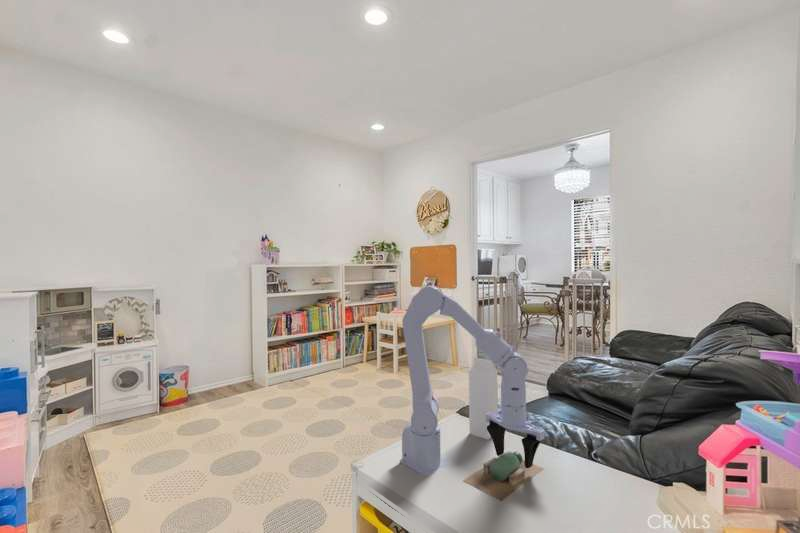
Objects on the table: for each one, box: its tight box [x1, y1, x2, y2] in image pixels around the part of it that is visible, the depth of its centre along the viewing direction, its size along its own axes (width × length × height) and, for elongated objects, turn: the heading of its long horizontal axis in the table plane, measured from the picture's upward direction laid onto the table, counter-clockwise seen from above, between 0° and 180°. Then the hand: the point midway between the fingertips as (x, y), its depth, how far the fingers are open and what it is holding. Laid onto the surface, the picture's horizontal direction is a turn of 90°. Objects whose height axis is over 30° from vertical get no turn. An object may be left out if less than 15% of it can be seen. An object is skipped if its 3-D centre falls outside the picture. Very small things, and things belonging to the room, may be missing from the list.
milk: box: [468, 357, 499, 441], centre depth 108 cm, size 6×6×22 cm
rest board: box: [462, 456, 545, 502], centre depth 87 cm, size 10×18×2 cm, turn 132°
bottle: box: [489, 451, 524, 481], centre depth 87 cm, size 4×4×9 cm
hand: (514, 460), depth 89 cm, fingers open, 7 cm apart
